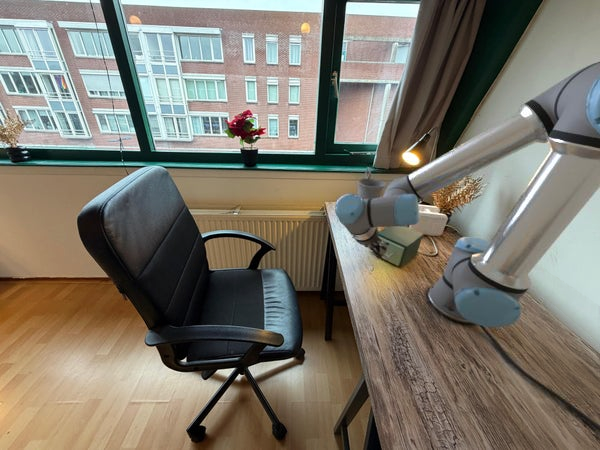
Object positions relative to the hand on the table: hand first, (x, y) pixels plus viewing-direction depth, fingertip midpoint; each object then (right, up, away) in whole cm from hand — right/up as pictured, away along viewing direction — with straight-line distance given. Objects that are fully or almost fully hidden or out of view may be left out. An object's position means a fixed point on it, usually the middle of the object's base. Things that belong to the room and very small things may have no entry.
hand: (380, 254), depth 91 cm
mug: (+4, +15, +40) cm, 43 cm away
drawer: (+7, -1, +8) cm, 10 cm away
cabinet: (+9, -1, +11) cm, 14 cm away
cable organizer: (+30, +8, +30) cm, 43 cm away
